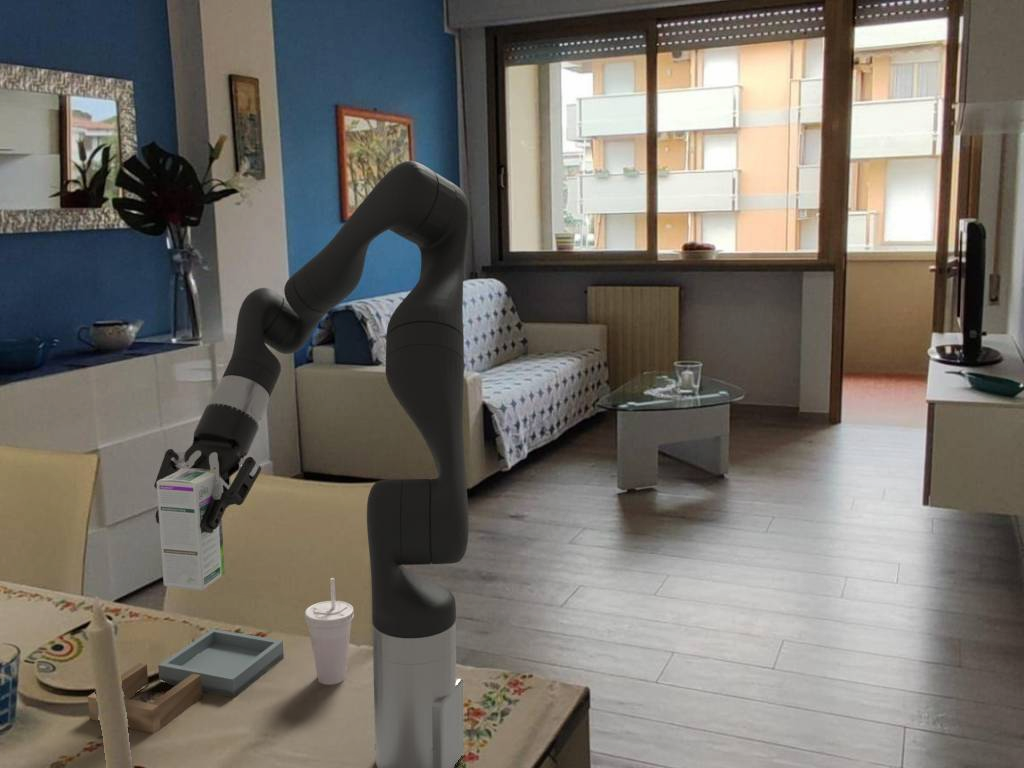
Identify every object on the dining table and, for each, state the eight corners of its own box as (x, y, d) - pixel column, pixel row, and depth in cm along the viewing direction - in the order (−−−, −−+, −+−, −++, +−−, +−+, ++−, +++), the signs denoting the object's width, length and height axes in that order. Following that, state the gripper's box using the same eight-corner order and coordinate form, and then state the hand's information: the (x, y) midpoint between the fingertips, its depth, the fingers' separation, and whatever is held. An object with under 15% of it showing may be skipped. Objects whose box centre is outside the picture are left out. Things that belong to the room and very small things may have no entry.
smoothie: (360, 684, 128) (357, 584, 125) (311, 693, 125) (307, 591, 123) (350, 663, 134) (347, 567, 131) (303, 671, 131) (299, 573, 129)
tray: (283, 657, 135) (282, 640, 135) (234, 697, 124) (232, 679, 124) (213, 644, 139) (212, 628, 138) (159, 682, 128) (158, 664, 128)
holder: (201, 696, 125) (200, 675, 124) (153, 733, 116) (152, 710, 116) (140, 684, 128) (139, 663, 127) (89, 719, 119) (87, 696, 119)
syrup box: (203, 591, 123) (198, 482, 120) (161, 586, 125) (155, 478, 122) (225, 574, 129) (221, 470, 126) (185, 570, 130) (180, 466, 127)
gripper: (290, 435, 133) (244, 546, 124) (202, 427, 137) (152, 534, 129) (266, 405, 127) (216, 520, 118) (175, 398, 131) (120, 508, 123)
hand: (183, 527), depth 124 cm, fingers closed on syrup box, 6 cm apart
